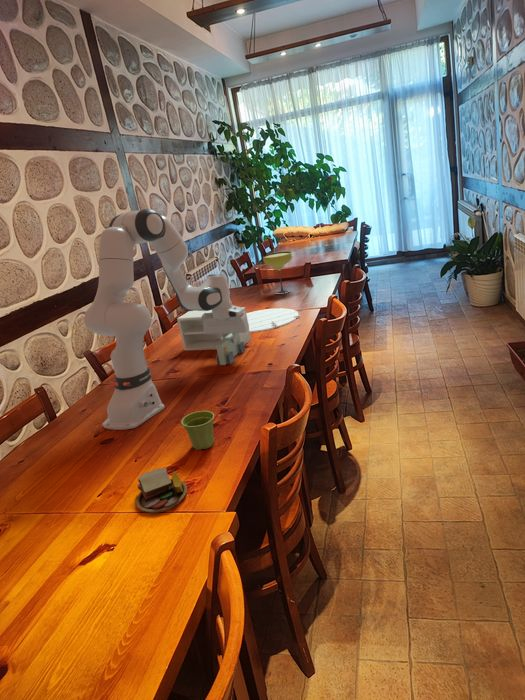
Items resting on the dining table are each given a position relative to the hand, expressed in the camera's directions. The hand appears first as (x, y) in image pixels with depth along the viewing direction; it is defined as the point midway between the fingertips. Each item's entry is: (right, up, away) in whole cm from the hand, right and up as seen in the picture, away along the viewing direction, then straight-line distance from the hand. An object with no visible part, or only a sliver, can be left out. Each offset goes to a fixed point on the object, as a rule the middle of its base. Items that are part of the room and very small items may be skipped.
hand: (228, 342), depth 201 cm
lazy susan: (+15, +12, +50) cm, 54 cm away
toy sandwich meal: (-11, -40, -85) cm, 95 cm away
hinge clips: (+1, -6, +2) cm, 7 cm away
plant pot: (-3, -31, -64) cm, 71 cm away
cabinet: (-7, -1, +23) cm, 24 cm away
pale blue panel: (+1, -6, +2) cm, 7 cm away
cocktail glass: (+28, +34, +105) cm, 114 cm away
